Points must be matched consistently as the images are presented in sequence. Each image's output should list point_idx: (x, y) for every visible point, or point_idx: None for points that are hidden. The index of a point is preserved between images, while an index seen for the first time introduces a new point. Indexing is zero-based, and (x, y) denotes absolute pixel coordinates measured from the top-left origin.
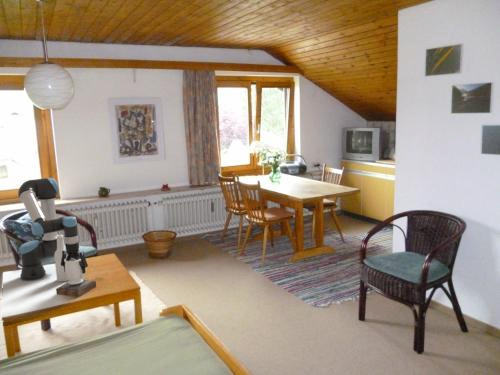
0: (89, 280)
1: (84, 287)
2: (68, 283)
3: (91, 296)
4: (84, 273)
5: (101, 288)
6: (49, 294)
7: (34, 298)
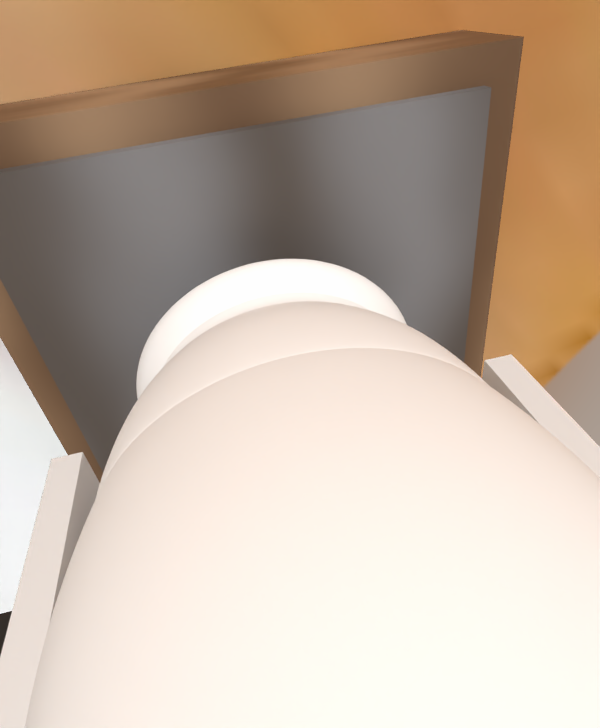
0: (362, 70)
1: (475, 352)
2: (109, 391)
3: (566, 332)
4: (571, 431)
5: (594, 68)
6: (37, 508)
7: (5, 604)
